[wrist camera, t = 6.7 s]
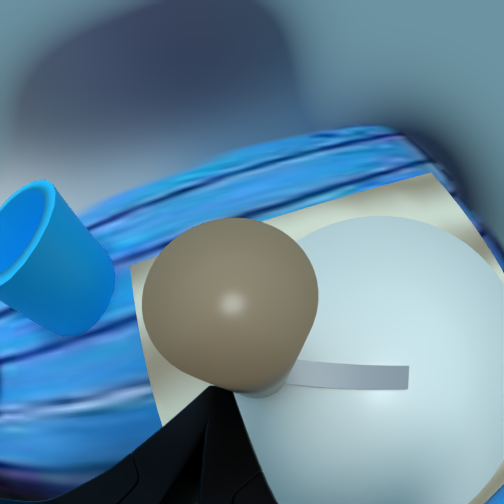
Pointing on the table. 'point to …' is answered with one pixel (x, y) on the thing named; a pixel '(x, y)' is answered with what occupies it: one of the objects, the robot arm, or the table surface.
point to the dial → (343, 353)
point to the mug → (51, 262)
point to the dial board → (298, 226)
